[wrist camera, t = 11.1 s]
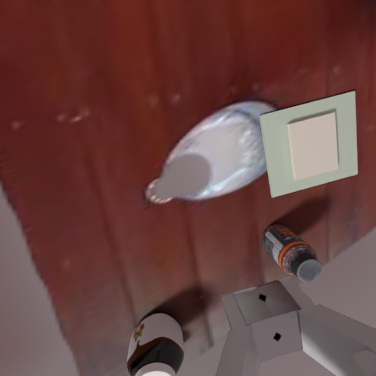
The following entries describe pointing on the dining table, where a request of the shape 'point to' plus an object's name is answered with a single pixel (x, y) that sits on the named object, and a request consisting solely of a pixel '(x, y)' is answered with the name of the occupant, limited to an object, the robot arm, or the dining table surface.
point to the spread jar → (156, 347)
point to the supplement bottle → (291, 253)
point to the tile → (313, 146)
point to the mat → (280, 150)
